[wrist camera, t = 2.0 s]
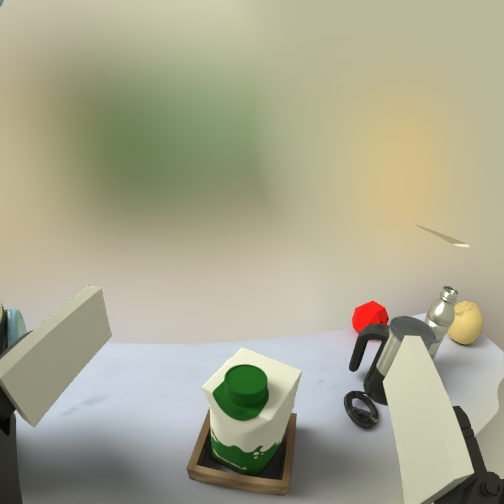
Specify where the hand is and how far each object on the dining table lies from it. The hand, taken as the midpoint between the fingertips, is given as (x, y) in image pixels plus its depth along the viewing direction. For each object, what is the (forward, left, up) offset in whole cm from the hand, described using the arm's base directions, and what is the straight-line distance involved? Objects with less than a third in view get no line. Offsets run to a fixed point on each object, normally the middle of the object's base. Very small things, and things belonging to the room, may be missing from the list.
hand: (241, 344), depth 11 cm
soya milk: (0, +11, -32) cm, 34 cm away
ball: (+24, +48, -32) cm, 62 cm away
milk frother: (+22, +25, -32) cm, 46 cm away
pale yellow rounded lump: (+54, +47, -32) cm, 79 cm away
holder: (0, +11, -32) cm, 34 cm away
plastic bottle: (+34, +34, -32) cm, 58 cm away
